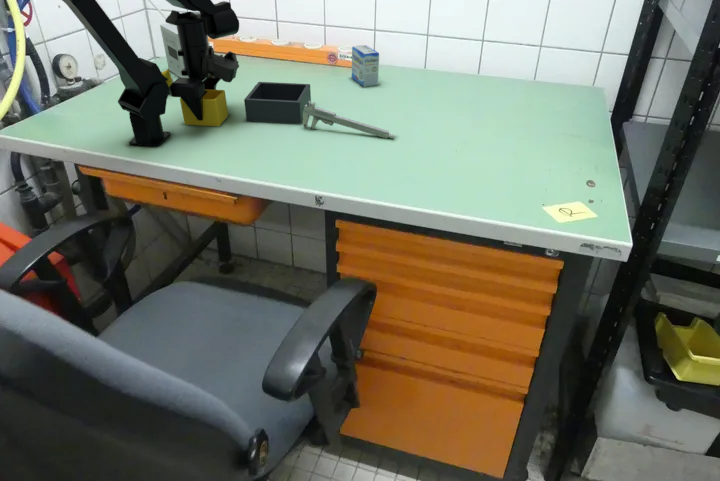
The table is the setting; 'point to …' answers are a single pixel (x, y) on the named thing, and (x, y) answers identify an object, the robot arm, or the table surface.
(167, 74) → the yellow ridged cone
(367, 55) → the medicine box
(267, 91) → the big bin
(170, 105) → the table surface
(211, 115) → the small bin
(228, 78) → the robot arm
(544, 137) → the table surface
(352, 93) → the table surface
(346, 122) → the caliper
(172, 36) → the grey machine part
